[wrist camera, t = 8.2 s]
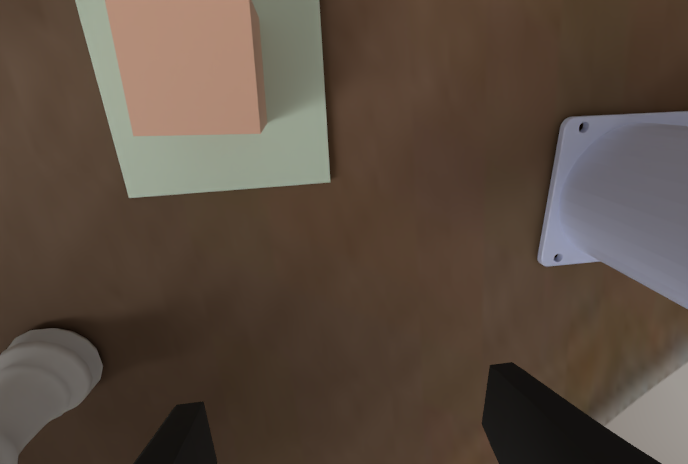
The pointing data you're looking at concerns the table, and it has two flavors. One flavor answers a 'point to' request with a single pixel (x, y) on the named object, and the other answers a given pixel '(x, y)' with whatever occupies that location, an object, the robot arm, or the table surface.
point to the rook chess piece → (42, 383)
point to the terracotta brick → (190, 66)
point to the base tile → (229, 149)
